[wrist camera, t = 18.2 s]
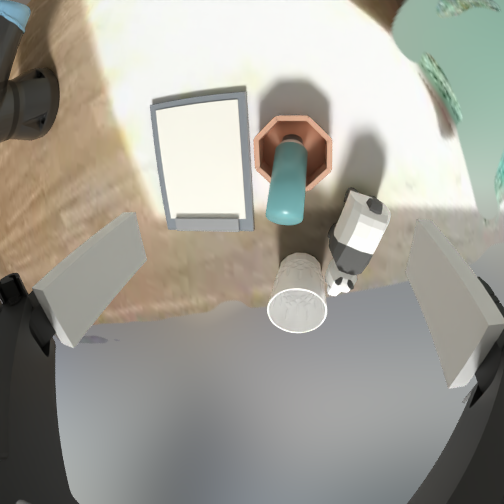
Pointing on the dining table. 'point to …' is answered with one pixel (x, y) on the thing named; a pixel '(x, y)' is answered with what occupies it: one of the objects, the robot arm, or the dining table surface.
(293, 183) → the teal cylinder
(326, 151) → the terracotta octagonal bowl
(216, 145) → the clipboard
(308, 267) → the white cup
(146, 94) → the dining table surface
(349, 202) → the giant panda
